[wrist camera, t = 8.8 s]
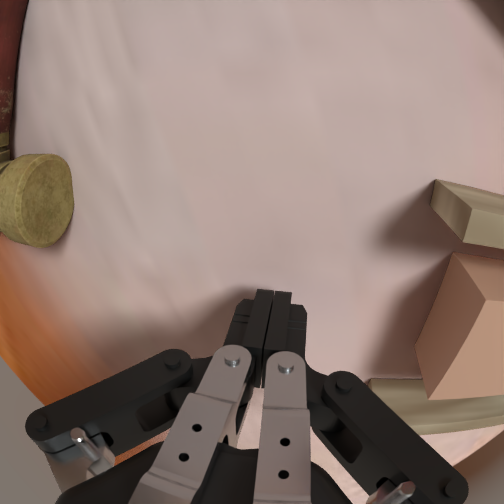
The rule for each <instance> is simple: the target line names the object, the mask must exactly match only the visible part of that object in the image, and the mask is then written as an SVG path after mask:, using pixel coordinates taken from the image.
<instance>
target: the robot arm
mask: <svg viewBox="0 0 504 504" xmlns="http://www.w3.org/2000/svg"><path fill="white" fill-rule="evenodd" d="M291 295H292V292H283V291H275V295H274V291H273V290H263V289H257V292H256V296H255V299H254V300H250V299H243V300H242V301H241V302H240V303H239V304H238V305H237V307H236V310H235V313H234V316H233V319H232V322H231V325H230V327H229V330H228V333H227V336H226V339H225V342H224V345H223V347H221V348H219V349H218V350H217V351H216V352H215V354H214V355H213V356H211V357H207V358H199V359H191V358H190V356H189V355H188V354H187V353H186V352H184V351H182V350H179V349H169V350H166V351H163V352H161V353H159V354H157V355H155V356H153V357H151V358H149V359H147V360H145V361H143V362H141V363H139V364H137V365H135V366H133V367H130V368H128V369H126V370H124V371H122V372H120V373H118V374H116V375H114V376H111V377H109V378H107V379H105V380H103V381H101V382H99V383H96V384H94V385H92V386H90V387H88V388H85V389H83V390H81V391H79V392H77V393H74V394H72V395H70V396H68V397H65V398H63V399H61V400H59V401H56V402H54V403H52V404H49V405H47V406H45V407H42V408H40V409H38V410H35V411H34V412H33V413H31V414H30V415H29V417H28V418H27V420H26V424H25V428H26V432H27V434H28V435H29V437H30V438H31V439H32V440H33V441H34V442H35V443H36V444H37V445H38V447H39V448H40V449H41V450H42V451H43V452H44V453H45V456H46V458H47V461H48V463H49V465H50V468H51V470H52V472H53V475H54V477H55V479H56V481H57V483H58V486H59V488H60V490H61V492H62V494H61V495H60V496H59V498H58V500H57V501H56V503H55V504H352V502H351V501H350V500H349V499H348V498H347V496H346V495H345V494H344V493H343V491H342V490H341V489H340V488H339V486H338V485H337V484H336V483H335V481H334V480H333V479H332V477H331V476H330V475H329V474H328V473H327V472H326V471H325V470H324V469H323V468H321V467H320V466H319V465H317V464H315V463H313V462H311V449H310V426H311V427H312V430H313V432H314V433H315V434H316V436H317V437H318V438H319V439H320V440H321V442H322V443H323V444H324V445H325V446H326V447H327V449H328V450H329V451H330V452H331V453H332V454H333V456H334V457H335V458H336V459H337V460H338V461H339V462H340V464H341V465H342V466H343V467H344V468H345V469H346V470H347V472H348V473H349V474H350V475H351V476H352V477H353V478H354V479H355V481H356V482H357V483H358V484H359V485H360V486H361V487H362V488H363V489H364V490H365V492H366V493H367V494H368V495H369V498H368V499H367V502H366V504H463V503H464V502H465V500H466V498H467V496H468V483H467V481H466V479H465V478H464V477H463V476H462V475H461V474H460V473H459V472H458V471H457V470H455V469H454V468H453V467H452V466H451V465H450V464H449V463H448V462H447V461H446V460H445V459H444V458H443V457H442V456H440V455H439V454H438V453H437V452H436V451H435V450H434V449H433V448H432V447H431V446H430V445H429V444H428V443H427V442H425V441H424V440H423V439H422V438H421V437H420V436H419V435H418V434H417V433H416V432H415V431H414V430H413V429H412V428H411V427H410V426H409V425H407V424H406V423H405V422H404V421H403V420H402V419H401V418H400V417H399V416H398V415H397V414H396V413H395V412H394V411H393V410H392V409H391V408H390V407H389V406H387V405H386V404H385V403H384V402H383V401H382V400H381V399H380V398H379V397H378V396H377V395H376V394H375V393H374V392H373V391H372V390H371V389H370V388H369V387H368V386H367V385H366V384H365V383H364V382H362V381H361V380H360V379H359V378H358V377H357V376H356V375H354V374H353V373H350V372H347V371H337V372H334V373H331V374H330V375H329V376H327V375H324V374H321V373H319V372H316V371H315V370H313V369H312V368H310V367H309V365H308V364H307V362H306V360H305V344H306V326H307V312H306V310H305V308H304V307H303V305H296V304H291ZM261 379H262V387H261V388H265V389H264V400H263V410H262V421H261V432H260V442H259V449H246V450H241V449H237V442H238V439H239V435H240V432H241V429H242V426H243V423H244V420H245V417H246V414H247V411H248V408H249V405H250V399H251V397H252V394H253V389H254V387H256V388H260V384H261ZM169 428H171V429H170V431H169V433H168V435H167V437H166V439H165V441H162V442H159V443H156V444H154V445H152V446H150V447H148V448H146V449H145V450H143V451H141V452H139V453H138V454H136V455H134V456H132V457H130V458H129V459H127V460H125V461H123V462H121V463H119V464H118V465H116V466H114V467H112V466H113V465H114V462H115V457H116V456H118V455H120V454H122V453H124V452H126V451H128V450H130V449H132V448H134V447H136V446H138V445H140V444H142V443H143V442H145V441H147V440H149V439H151V438H153V437H155V436H156V435H158V434H160V433H162V432H164V431H166V430H167V429H169Z"/></svg>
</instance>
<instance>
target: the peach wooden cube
mask: <svg viewBox="0 0 504 504" xmlns="http://www.w3.org/2000/svg"><path fill="white" fill-rule="evenodd" d="M414 348H415V352H416V355H417V359H418V363H419V366H420V370H421V374H422V378H423V382H424V386H425V390H426V394H427V398H428V400H443V399H461V398H475V397H486V396H495V395H504V260H499V259H493V258H487V257H481V256H475V255H469V254H463V253H457V252H453V253H452V256H451V259H450V262H449V265H448V268H447V270H446V273H445V276H444V278H443V281H442V284H441V286H440V289H439V291H438V294H437V296H436V299H435V301H434V304H433V306H432V309H431V311H430V313H429V315H428V318H427V320H426V322H425V324H424V327H423V329H422V331H421V333H420V335H419V337H418V340H417V342H416V344H415V346H414Z"/></svg>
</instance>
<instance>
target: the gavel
mask: <svg viewBox="0 0 504 504" xmlns="http://www.w3.org/2000/svg"><path fill="white" fill-rule="evenodd" d="M27 2H28V0H0V232H3V233H4V235H5V236H6V237H8V238H9V239H10V240H12V241H14V242H18V243H21V244H25V245H29V246H33V247H38V248H44V247H48V246H50V245H52V244H54V243H55V242H56V241H58V240H59V238H60V237H61V236H62V235H63V233H64V232H65V230H66V229H67V226H68V224H69V222H70V219H71V216H72V213H73V208H74V197H73V188H72V176H71V172H70V168H69V166H68V164H67V162H66V161H65V160H64V159H63V158H61V157H60V156H58V155H54V154H27V155H22V156H20V157H18V158H16V159H15V160H10V149H7V145H8V144H9V128H10V122H11V116H12V110H13V93H14V80H15V70H16V61H17V54H18V47H19V41H20V35H21V29H22V24H23V19H24V15H25V10H26V6H27Z"/></svg>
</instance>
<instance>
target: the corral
mask: <svg viewBox="0 0 504 504" xmlns="http://www.w3.org/2000/svg"><path fill="white" fill-rule="evenodd" d="M430 207H431V208H432V209H433V210H434V211H435V212H436V213H437V214H438V215H439V216H440V217H441V218H442V219H443V220H444V222H445V223H446V224H447V225H448V226H449V227H450V228H451V229H452V230H453V232H454V233H455V234H456V235H457V236H458V237H459V238H460V240H461V241H462V242H464V243H471V244H477V245H483V246H489V247H494V248H500V249H504V196H503V195H500V194H496V193H492V192H489V191H485V190H481V189H477V188H473V187H469V186H464V185H460V184H456V183H451V182H447V181H442V180H437V179H436V180H435V185H434V190H433V194H432V199H431V204H430ZM368 387H369V388H370V389H371V390H372V391H373V392H374V393H375V394H376V395H377V396H378V397H379V398H380V399H381V400H382V401H383V402H384V403H385V404H386V405H387V406H389V407H390V408H391V409H392V410H393V411H394V412H395V413H396V414H397V415H398V416H399V417H400V418H401V419H402V420H403V421H404V422H405V423H406V424H407V425H409V426H410V427H411V428H412V429H413V430H414V431H415V432H416V433H417V434H418V435H428V434H439V433H449V432H457V431H465V430H472V429H479V428H485V427H490V426H496V425H501V424H504V395H495V396H486V397H475V398H461V399H443V400H428V398H427V394H426V390H425V386H424V382H423V380H409V379H372V378H371V380H370V382H369V384H368Z"/></svg>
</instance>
